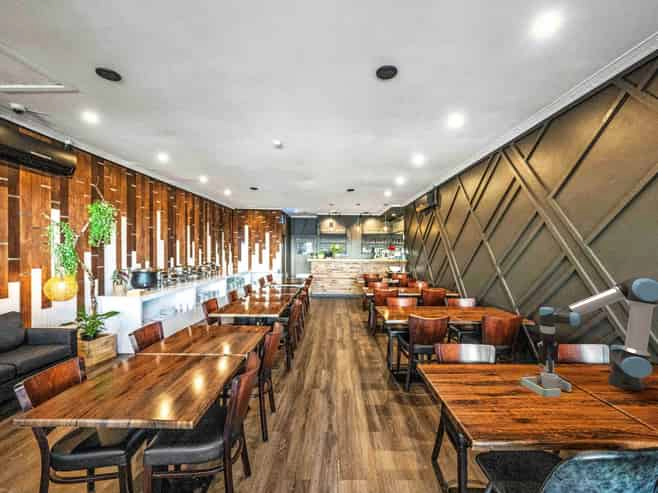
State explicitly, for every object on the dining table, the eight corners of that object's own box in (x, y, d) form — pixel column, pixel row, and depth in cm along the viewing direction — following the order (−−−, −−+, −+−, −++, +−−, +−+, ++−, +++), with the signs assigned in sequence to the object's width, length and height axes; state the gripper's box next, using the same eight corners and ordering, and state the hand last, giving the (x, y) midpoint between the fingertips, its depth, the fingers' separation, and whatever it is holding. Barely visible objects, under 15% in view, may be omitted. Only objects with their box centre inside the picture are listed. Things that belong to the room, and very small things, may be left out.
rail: (555, 378, 186) (555, 373, 187) (563, 381, 181) (562, 376, 181) (523, 380, 184) (522, 375, 184) (529, 383, 179) (529, 378, 179)
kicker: (548, 377, 187) (547, 353, 188) (578, 391, 168) (577, 364, 168) (539, 377, 187) (538, 353, 187) (568, 391, 167) (567, 365, 167)
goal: (535, 383, 179) (535, 376, 180) (561, 396, 162) (561, 389, 162) (520, 384, 178) (520, 377, 178) (544, 397, 161) (544, 390, 161)
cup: (557, 386, 175) (557, 372, 175) (567, 392, 167) (566, 378, 167) (538, 386, 176) (537, 372, 176) (546, 392, 168) (546, 377, 168)
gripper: (554, 330, 189) (555, 367, 188) (530, 331, 187) (532, 369, 186) (564, 333, 181) (566, 372, 180) (540, 334, 180) (541, 373, 179)
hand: (548, 370), depth 183 cm, fingers closed on kicker, 3 cm apart
